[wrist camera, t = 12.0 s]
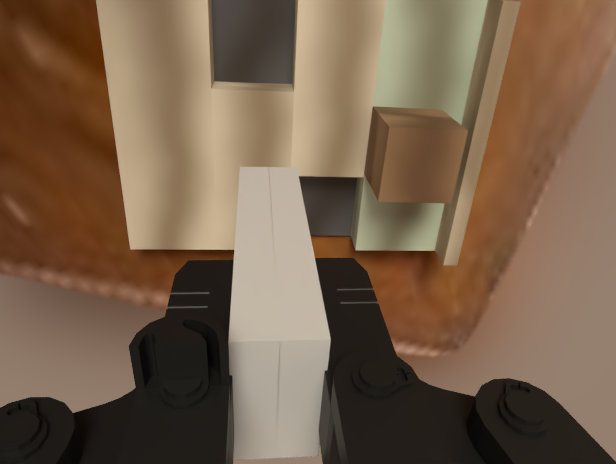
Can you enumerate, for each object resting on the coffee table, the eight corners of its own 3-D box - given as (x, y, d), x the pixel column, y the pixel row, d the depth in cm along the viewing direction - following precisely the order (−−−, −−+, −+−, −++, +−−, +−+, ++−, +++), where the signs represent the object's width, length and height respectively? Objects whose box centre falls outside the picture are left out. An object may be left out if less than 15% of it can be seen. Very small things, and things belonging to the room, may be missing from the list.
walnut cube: (363, 173, 32) (378, 201, 29) (372, 106, 30) (389, 127, 26) (428, 175, 33) (451, 203, 29) (441, 109, 31) (468, 130, 27)
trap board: (138, 232, 36) (123, 264, 32) (105, -27, 28) (79, -26, 24) (436, 234, 38) (456, 265, 34) (486, -3, 30) (520, 1, 26)
